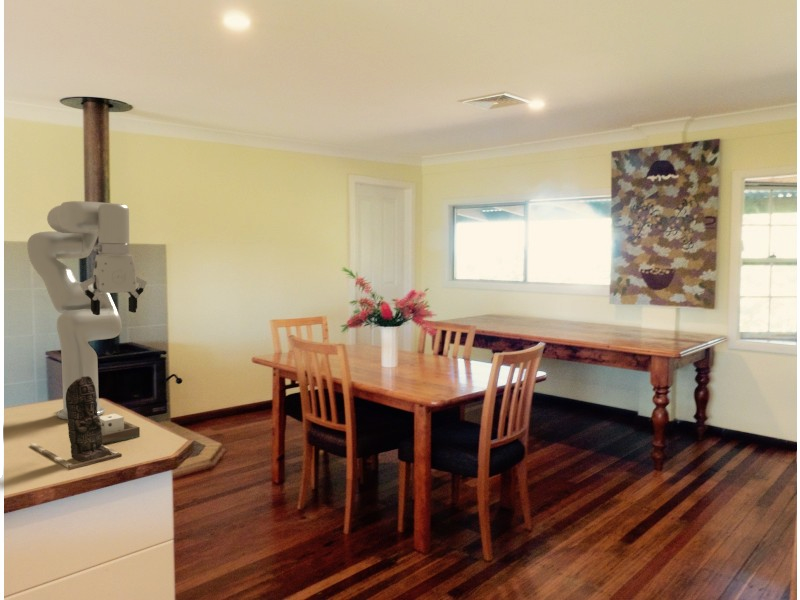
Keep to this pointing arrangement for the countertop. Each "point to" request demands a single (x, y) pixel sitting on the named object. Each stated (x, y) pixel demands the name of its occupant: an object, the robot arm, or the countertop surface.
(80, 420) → the statue
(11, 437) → the countertop surface
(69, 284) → the robot arm
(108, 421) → the die
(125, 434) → the dice tray
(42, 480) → the countertop surface
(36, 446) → the brown rectangular frame
